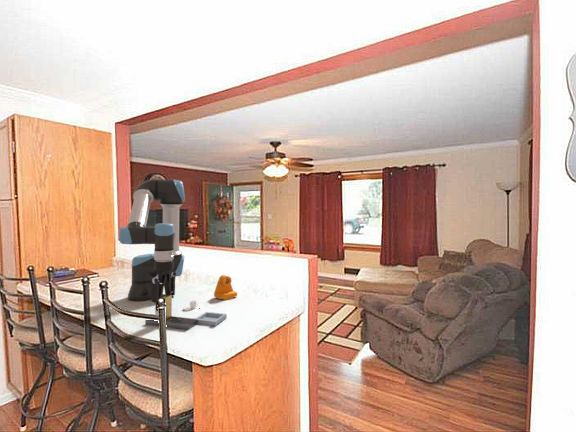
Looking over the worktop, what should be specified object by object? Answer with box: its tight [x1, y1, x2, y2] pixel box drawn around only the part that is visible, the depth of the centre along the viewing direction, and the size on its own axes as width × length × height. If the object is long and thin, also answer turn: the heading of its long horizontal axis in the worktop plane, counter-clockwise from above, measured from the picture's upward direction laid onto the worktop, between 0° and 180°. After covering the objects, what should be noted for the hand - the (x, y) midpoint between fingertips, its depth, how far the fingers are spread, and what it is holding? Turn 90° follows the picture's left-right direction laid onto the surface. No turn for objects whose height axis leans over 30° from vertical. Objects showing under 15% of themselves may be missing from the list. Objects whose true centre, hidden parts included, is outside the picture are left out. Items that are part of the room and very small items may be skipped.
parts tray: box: [194, 311, 227, 327], centre depth 131 cm, size 10×10×2 cm
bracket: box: [213, 274, 238, 301], centre depth 167 cm, size 11×7×12 cm, turn 131°
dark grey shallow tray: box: [144, 315, 199, 331], centre depth 125 cm, size 20×7×2 cm, turn 75°
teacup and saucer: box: [182, 300, 202, 312], centre depth 147 cm, size 9×8×4 cm
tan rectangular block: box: [154, 293, 173, 321], centre depth 127 cm, size 4×4×11 cm
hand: (163, 315), depth 127 cm, fingers closed on tan rectangular block, 4 cm apart
